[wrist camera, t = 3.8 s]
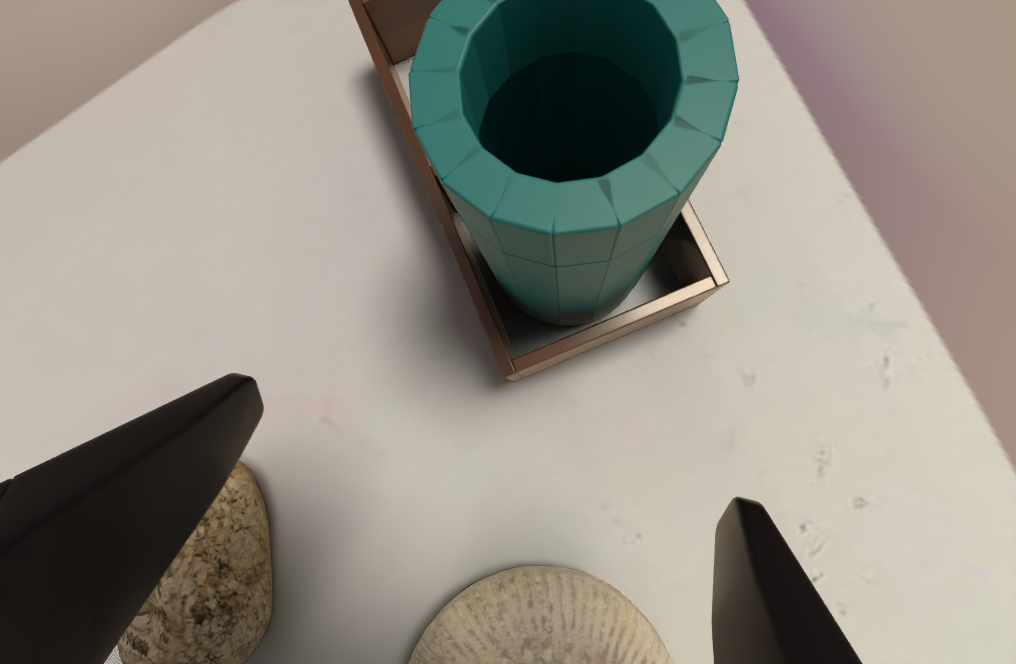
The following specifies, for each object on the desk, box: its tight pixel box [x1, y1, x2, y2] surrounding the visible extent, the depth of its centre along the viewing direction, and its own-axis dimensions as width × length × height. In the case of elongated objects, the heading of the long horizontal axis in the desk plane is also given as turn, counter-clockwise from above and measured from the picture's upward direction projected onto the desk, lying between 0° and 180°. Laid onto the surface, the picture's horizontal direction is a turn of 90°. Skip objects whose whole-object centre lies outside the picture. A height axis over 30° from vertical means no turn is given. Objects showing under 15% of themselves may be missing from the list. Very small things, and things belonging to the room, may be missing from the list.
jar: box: [409, 0, 739, 326], centre depth 17 cm, size 7×7×13 cm
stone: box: [118, 460, 272, 664], centre depth 21 cm, size 6×9×5 cm
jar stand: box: [349, 0, 730, 381], centre depth 22 cm, size 9×17×4 cm, turn 23°
